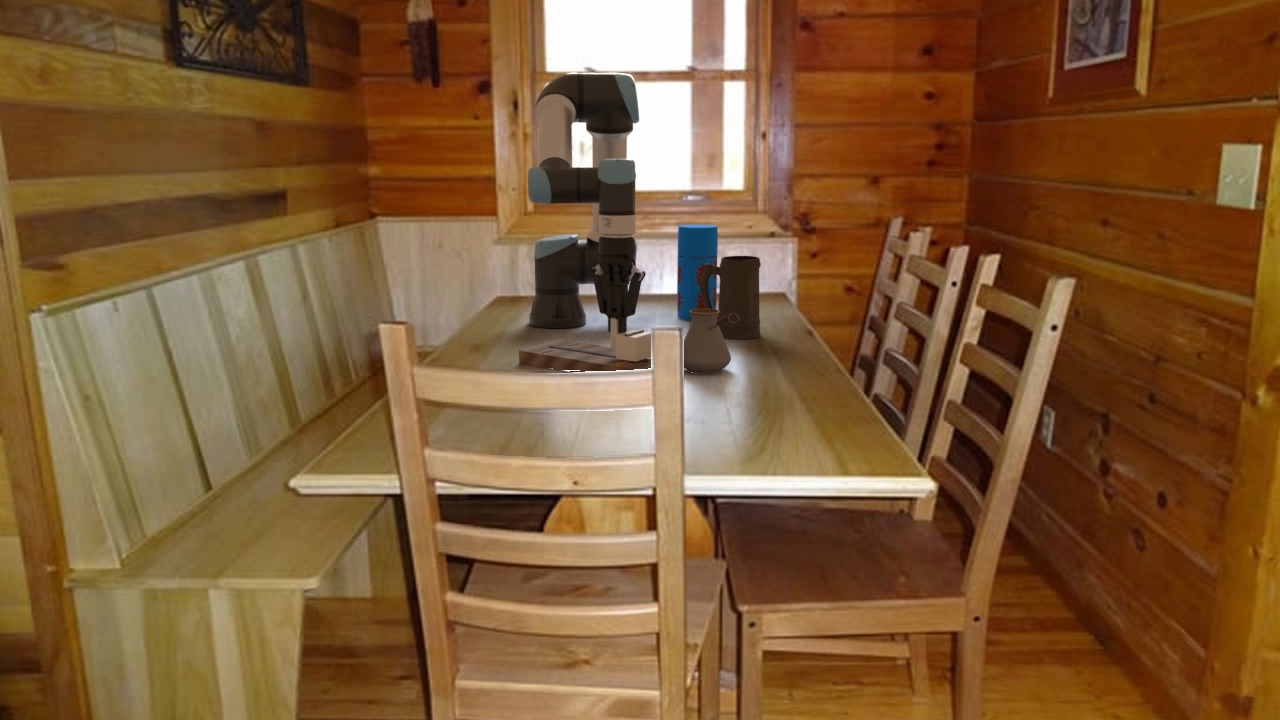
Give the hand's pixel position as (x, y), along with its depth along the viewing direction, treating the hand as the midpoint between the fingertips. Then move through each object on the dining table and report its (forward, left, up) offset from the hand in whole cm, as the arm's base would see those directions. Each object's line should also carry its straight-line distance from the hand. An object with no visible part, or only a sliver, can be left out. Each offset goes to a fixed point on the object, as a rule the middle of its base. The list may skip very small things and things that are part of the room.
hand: (617, 348), depth 197 cm
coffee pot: (+18, +8, -5) cm, 21 cm away
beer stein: (0, +47, -5) cm, 47 cm away
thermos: (-20, +64, -5) cm, 67 cm away
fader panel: (-6, 0, -5) cm, 7 cm away
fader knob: (+4, 0, -2) cm, 5 cm away
